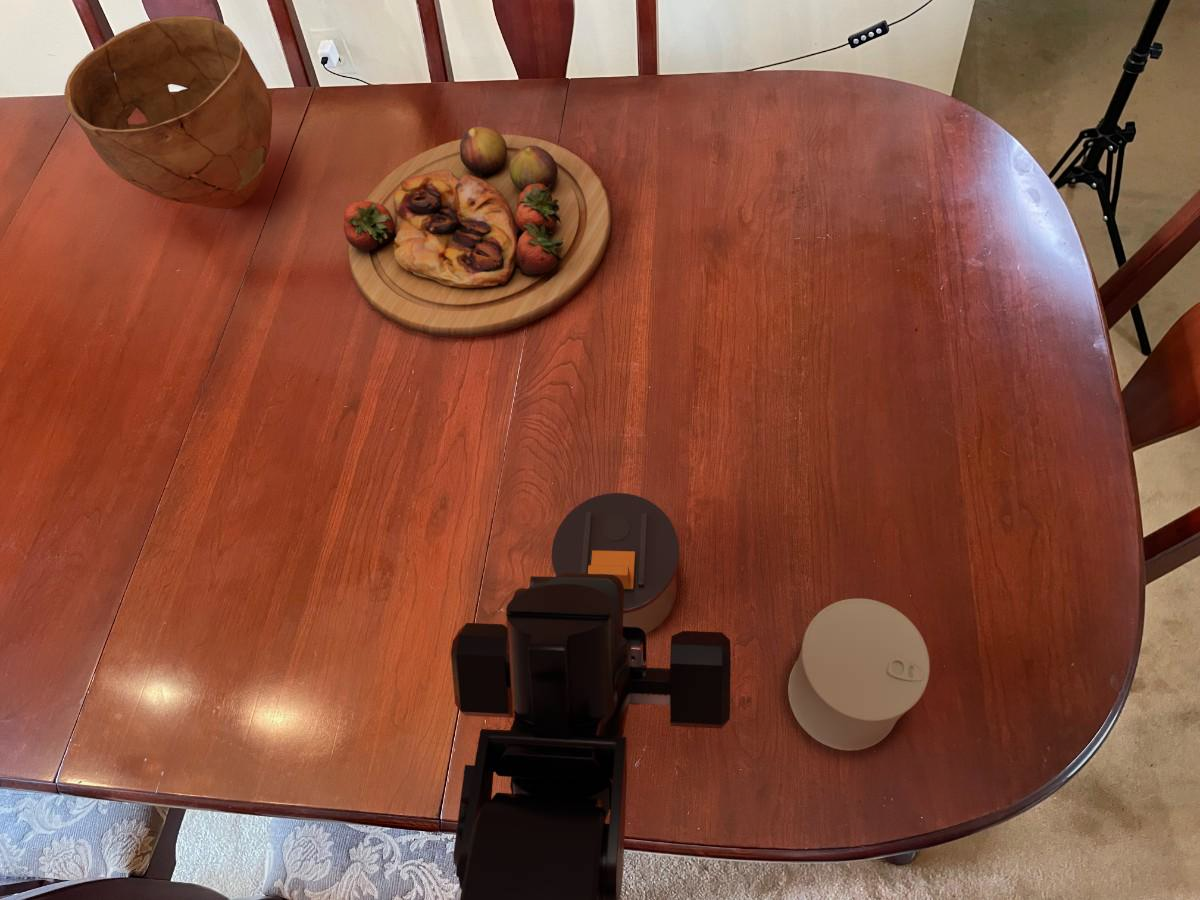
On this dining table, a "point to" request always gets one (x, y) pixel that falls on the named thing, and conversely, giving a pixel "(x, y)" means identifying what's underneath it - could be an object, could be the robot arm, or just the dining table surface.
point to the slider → (614, 565)
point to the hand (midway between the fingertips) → (605, 618)
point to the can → (857, 673)
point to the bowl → (176, 110)
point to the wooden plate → (478, 234)
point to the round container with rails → (624, 529)
